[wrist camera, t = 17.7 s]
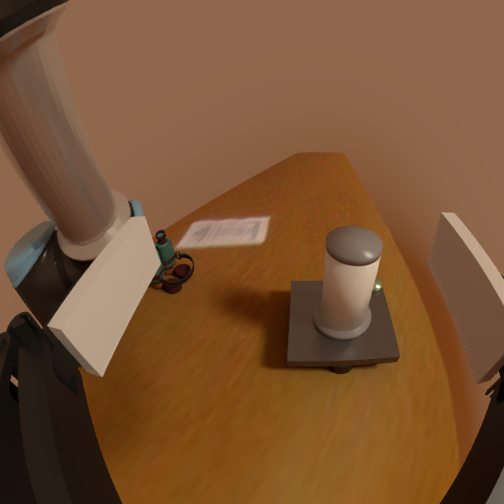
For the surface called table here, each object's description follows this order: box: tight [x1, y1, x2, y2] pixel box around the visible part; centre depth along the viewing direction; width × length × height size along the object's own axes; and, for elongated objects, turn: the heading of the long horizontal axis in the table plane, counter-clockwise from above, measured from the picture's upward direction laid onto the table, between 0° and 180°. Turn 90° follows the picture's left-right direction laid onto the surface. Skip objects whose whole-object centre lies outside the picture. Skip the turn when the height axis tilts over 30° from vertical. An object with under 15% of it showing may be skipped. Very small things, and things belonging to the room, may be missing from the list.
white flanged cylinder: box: [313, 226, 383, 340], centre depth 35 cm, size 9×9×14 cm
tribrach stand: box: [287, 277, 400, 374], centre depth 40 cm, size 16×16×5 cm
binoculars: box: [151, 230, 194, 293], centre depth 54 cm, size 9×11×10 cm
